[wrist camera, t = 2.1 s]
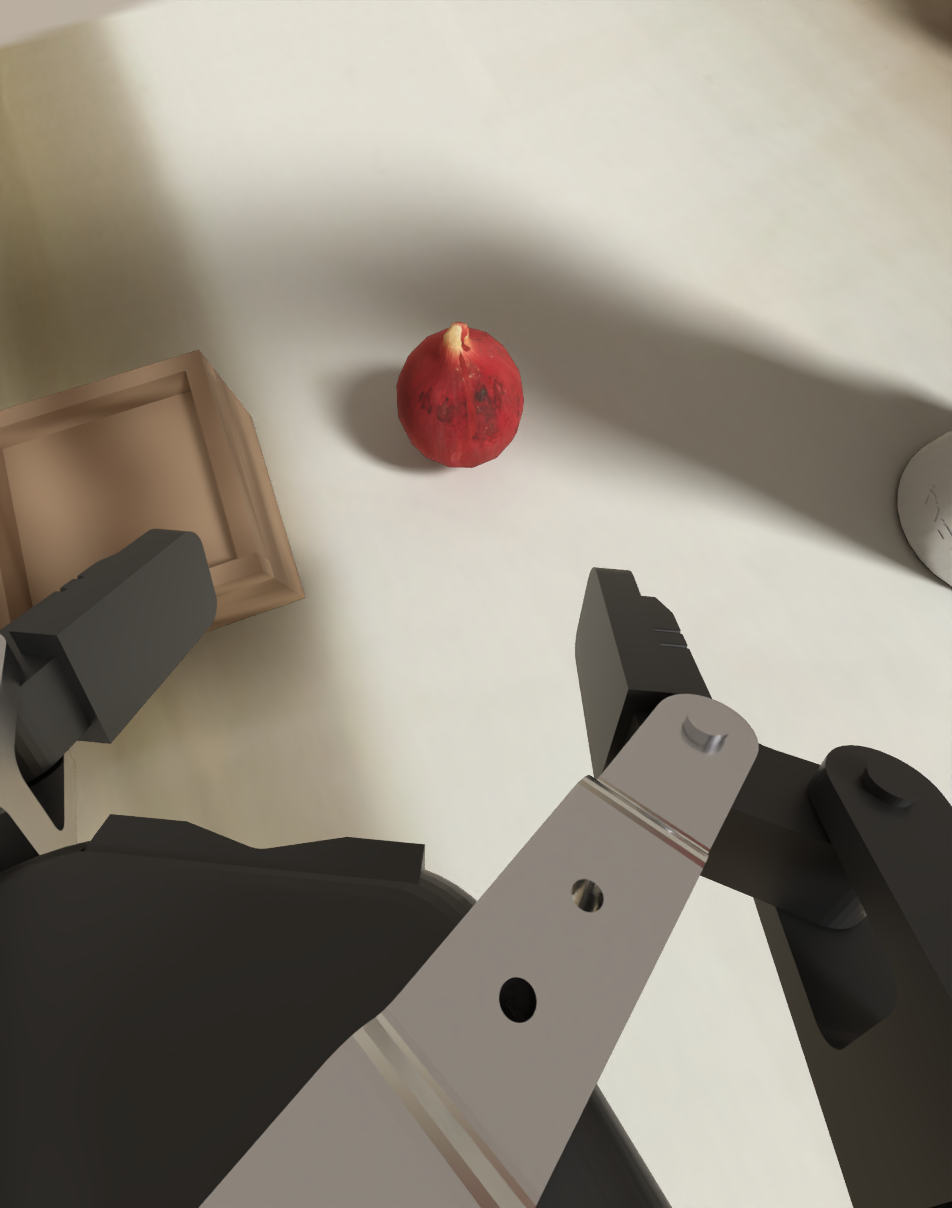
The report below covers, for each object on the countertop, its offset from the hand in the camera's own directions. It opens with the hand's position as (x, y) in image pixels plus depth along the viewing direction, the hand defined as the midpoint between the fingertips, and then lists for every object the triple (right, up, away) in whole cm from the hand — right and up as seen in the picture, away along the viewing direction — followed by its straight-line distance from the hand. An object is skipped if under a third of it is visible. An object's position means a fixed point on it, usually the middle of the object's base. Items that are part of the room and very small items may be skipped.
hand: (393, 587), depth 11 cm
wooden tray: (-14, +3, +15) cm, 21 cm away
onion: (+1, +8, +17) cm, 19 cm away
